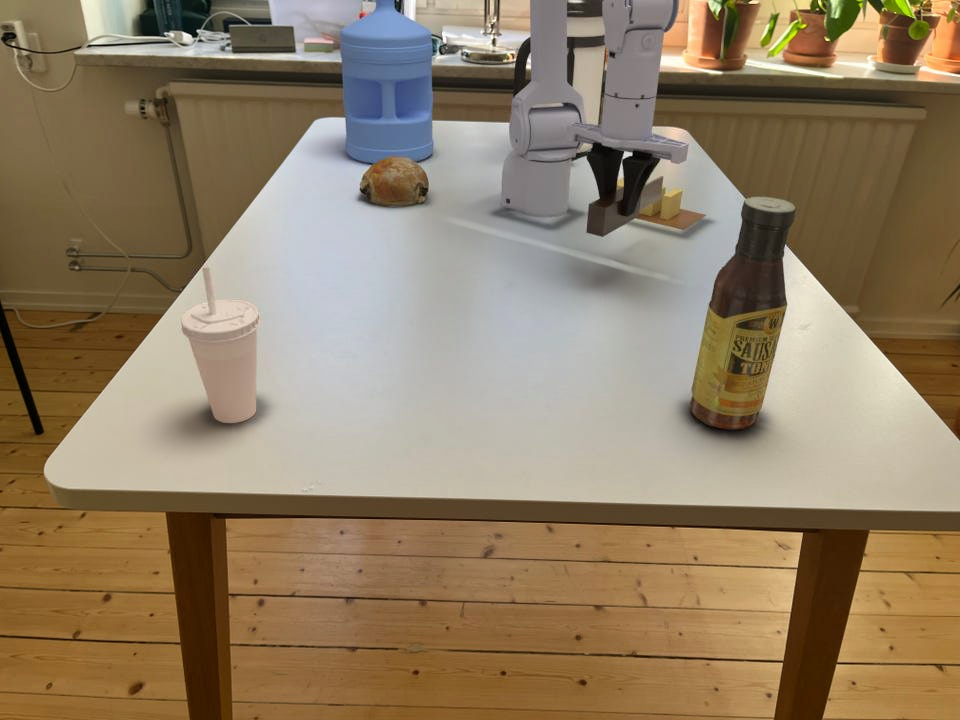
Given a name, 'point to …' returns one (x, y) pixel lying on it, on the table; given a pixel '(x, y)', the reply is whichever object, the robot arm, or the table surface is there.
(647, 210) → the butter block
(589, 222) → the knife
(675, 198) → the butter slice
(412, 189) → the bread roll
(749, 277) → the sauce bottle
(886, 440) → the table surface
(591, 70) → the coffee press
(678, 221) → the cutting board
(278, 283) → the table surface
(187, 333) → the smoothie
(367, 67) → the water jug
